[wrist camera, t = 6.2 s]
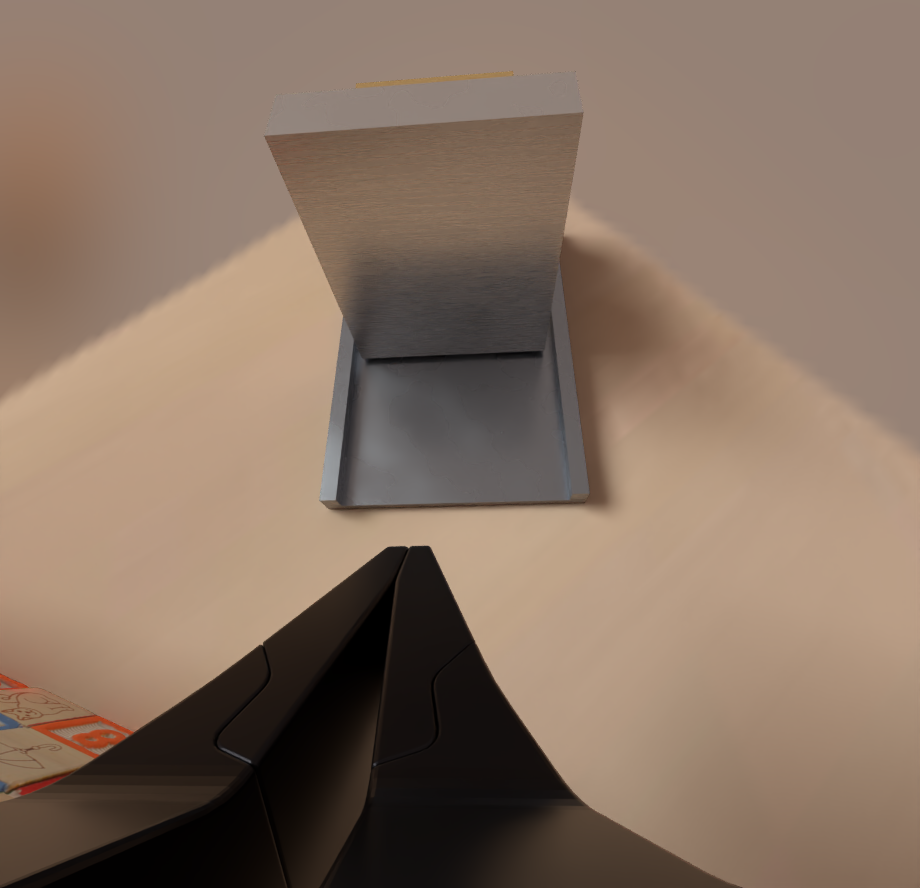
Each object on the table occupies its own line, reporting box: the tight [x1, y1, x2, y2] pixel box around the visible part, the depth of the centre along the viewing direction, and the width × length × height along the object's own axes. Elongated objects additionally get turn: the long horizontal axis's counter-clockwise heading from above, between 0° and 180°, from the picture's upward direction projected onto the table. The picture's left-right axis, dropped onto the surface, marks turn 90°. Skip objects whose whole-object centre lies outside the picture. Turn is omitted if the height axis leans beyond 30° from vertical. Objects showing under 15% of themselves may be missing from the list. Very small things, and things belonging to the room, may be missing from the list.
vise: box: [319, 261, 590, 509], centre depth 21 cm, size 16×11×5 cm
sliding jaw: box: [264, 71, 584, 359], centre depth 18 cm, size 2×9×11 cm, turn 90°
